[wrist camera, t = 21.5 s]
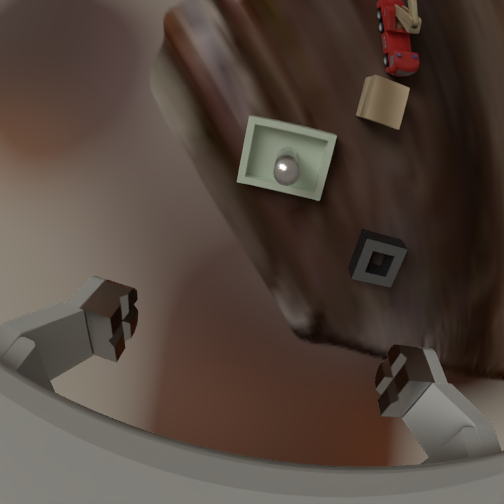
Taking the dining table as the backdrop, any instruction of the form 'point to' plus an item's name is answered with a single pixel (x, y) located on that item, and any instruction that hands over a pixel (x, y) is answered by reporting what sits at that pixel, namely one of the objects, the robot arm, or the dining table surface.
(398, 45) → the toy fire truck
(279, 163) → the pin
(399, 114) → the block
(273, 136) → the tray
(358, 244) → the socket block
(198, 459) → the robot arm
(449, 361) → the dining table surface
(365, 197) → the dining table surface
